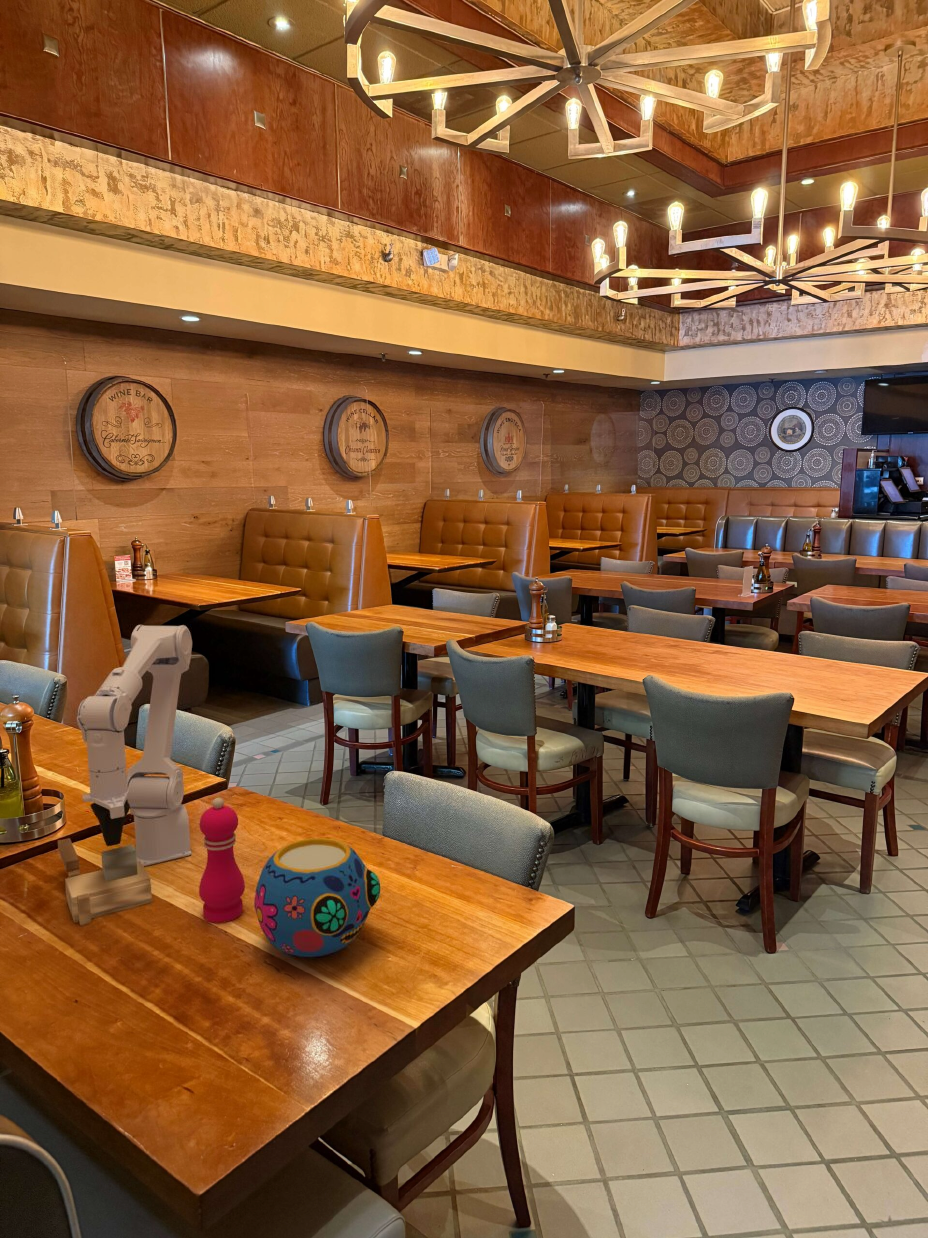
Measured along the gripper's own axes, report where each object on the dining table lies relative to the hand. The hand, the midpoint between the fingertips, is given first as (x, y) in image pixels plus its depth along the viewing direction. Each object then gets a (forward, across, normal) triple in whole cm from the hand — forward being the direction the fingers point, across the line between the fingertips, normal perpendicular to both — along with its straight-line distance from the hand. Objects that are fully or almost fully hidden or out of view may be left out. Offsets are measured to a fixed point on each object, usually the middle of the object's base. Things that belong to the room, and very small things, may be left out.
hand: (112, 844), depth 136 cm
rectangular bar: (+5, -10, -6) cm, 13 cm away
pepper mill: (+10, +14, +14) cm, 22 cm away
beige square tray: (+10, +1, -1) cm, 10 cm away
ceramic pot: (+10, +31, +23) cm, 40 cm away
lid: (+6, +1, -1) cm, 7 cm away
